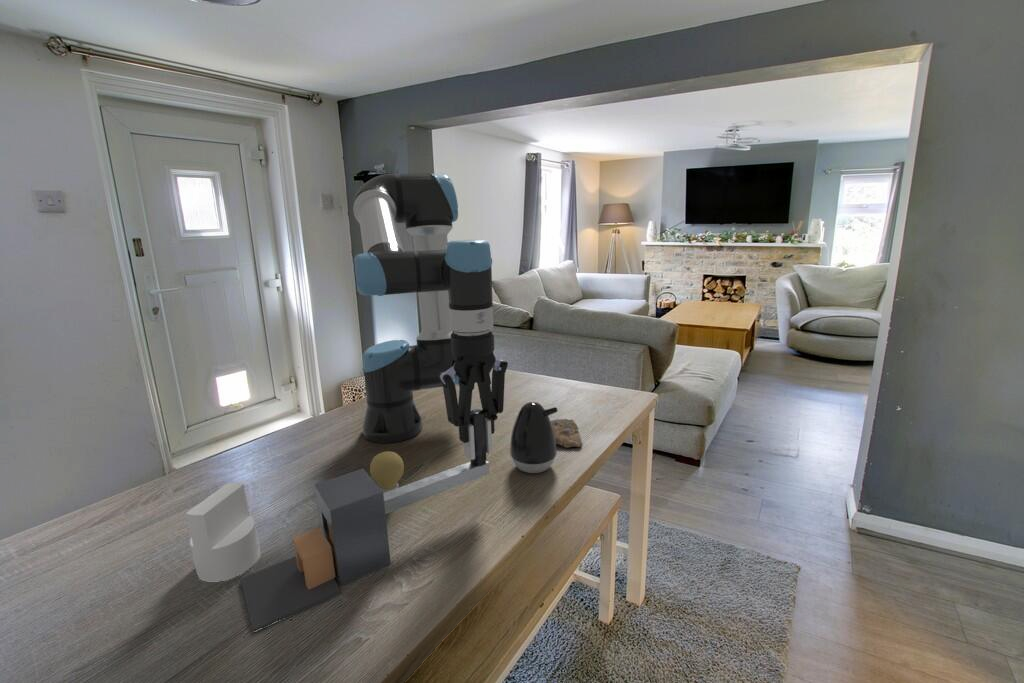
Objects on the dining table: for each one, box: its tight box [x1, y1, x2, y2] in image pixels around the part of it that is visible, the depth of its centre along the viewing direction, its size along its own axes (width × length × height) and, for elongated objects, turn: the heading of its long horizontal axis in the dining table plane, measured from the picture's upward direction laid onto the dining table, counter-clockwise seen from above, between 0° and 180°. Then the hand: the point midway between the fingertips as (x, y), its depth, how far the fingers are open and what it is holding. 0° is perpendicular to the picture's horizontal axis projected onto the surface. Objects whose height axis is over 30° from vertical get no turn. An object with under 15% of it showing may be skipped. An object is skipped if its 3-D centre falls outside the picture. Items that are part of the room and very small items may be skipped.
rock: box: [550, 418, 583, 448], centre depth 117 cm, size 9×6×10 cm
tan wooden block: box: [292, 527, 336, 590], centre depth 74 cm, size 6×4×6 cm, turn 38°
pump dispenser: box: [509, 401, 558, 474], centre depth 103 cm, size 10×10×15 cm
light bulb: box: [369, 450, 405, 493], centre depth 94 cm, size 6×6×10 cm
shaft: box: [327, 408, 490, 526], centre depth 81 cm, size 3×29×12 cm, turn 126°
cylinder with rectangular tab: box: [185, 482, 261, 581], centre depth 77 cm, size 9×9×12 cm
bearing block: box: [313, 468, 392, 587], centre depth 77 cm, size 9×8×13 cm
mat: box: [240, 555, 341, 633], centre depth 73 cm, size 12×12×1 cm
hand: (478, 453), depth 89 cm, fingers closed on shaft, 3 cm apart
